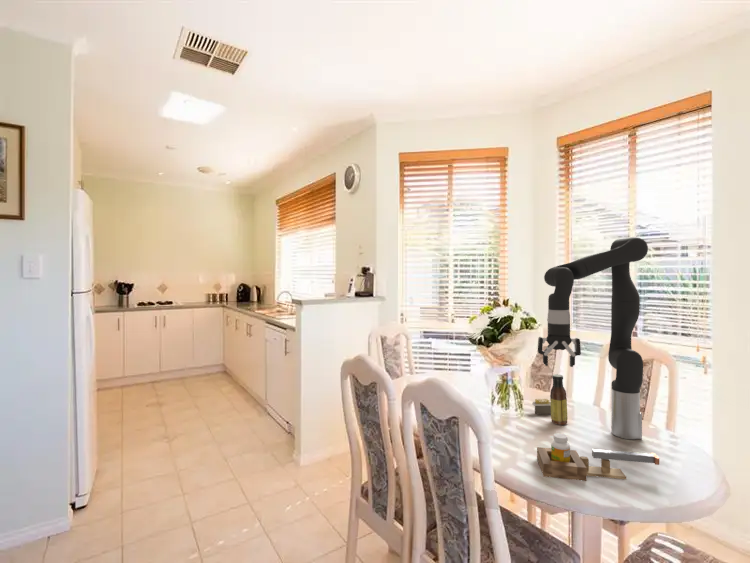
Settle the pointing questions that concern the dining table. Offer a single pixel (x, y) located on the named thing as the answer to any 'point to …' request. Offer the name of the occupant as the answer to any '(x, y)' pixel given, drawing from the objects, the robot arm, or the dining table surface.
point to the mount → (602, 469)
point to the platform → (542, 406)
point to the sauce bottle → (558, 401)
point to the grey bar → (625, 456)
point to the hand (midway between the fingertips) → (558, 366)
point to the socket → (561, 465)
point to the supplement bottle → (560, 448)
